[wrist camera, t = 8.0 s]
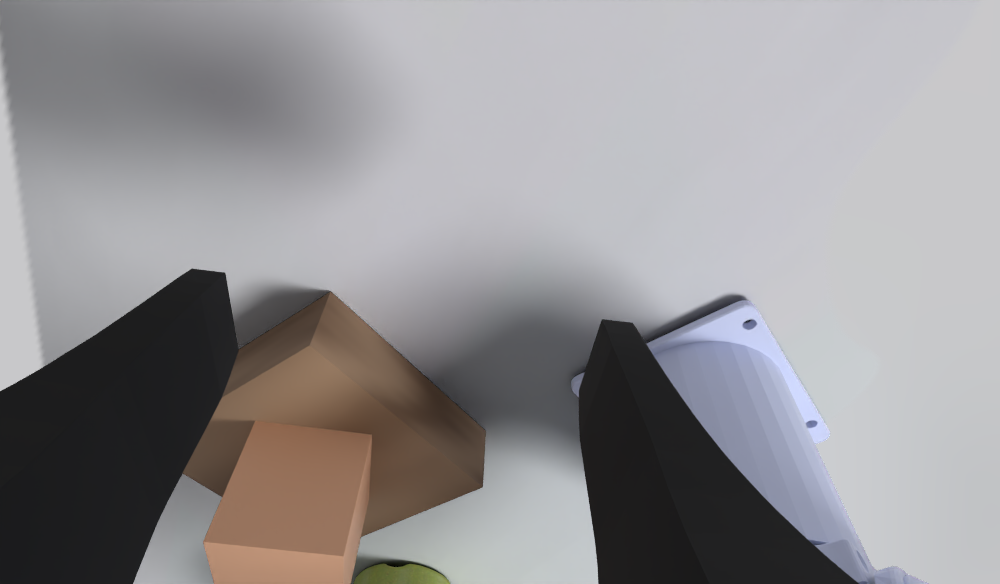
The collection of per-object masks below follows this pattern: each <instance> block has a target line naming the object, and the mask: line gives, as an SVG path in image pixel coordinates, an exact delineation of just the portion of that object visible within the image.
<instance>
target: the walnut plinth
mask: <svg viewBox="0 0 1000 584" xmlns="http://www.w3.org/2000/svg"><path fill="white" fill-rule="evenodd" d="M238 351H239V352H238V355H237V357H236V360H235V363H234V366H233V369H232V372H231V375H230V378H229V380H228V383H227V386H226V388H225V391H224V393H223V396H222V399H221V400H220V402H219V404H218V406H217V408H216V410H215V412H214V414H213V416H212V418H211V420H210V422H209V424H208V426H207V428H206V430H205V432H204V433H203V435H202V437H201V439H200V441H199V443H198V445H197V447H196V449H195V450H194V452H193V454H192V456H191V458H190V460H189V462H188V464H187V466H186V467H185V469H184V471H183V474H185V475H186V476H188V477H190V478H191V479H193V480H195V481H196V482H198V483H200V484H201V485H203V486H205V487H206V488H208V489H210V490H211V491H213V492H215V493H216V494H218V495H220V496H221V497H223V495H224V492H225V490H226V488H227V485H228V483H229V481H230V478H231V476H232V474H233V471H234V469H235V467H236V464H237V462H238V460H239V457H240V455H241V453H242V450H243V448H244V446H245V443H246V441H247V439H248V437H249V434H250V432H251V430H252V427H253V425H254V423H255V421H262V422H271V423H279V424H287V425H296V426H304V427H312V428H321V429H329V430H338V431H346V432H354V433H363V434H371V435H372V446H371V467H370V488H369V501H368V506H367V511H366V515H365V520H364V525H363V529H362V534H361V537H362V536H364V535H367V534H369V533H372V532H374V531H377V530H379V529H382V528H384V527H386V526H389V525H391V524H394V523H396V522H399V521H401V520H404V519H406V518H409V517H411V516H413V515H416V514H418V513H421V512H423V511H426V510H428V509H431V508H433V507H435V506H438V505H440V504H443V503H445V502H448V501H450V500H453V499H455V498H458V497H460V496H462V495H465V494H467V493H470V492H472V491H475V490H477V489H480V488H482V487H483V474H484V455H485V436H486V431H485V430H484V429H483V428H482V427H481V426H480V425H478V424H477V423H476V422H475V421H474V420H473V419H472V418H471V417H470V416H468V415H467V414H466V413H465V412H464V411H463V410H462V409H461V408H460V407H458V406H457V405H456V404H455V403H454V402H453V401H452V400H451V399H450V398H448V397H447V396H446V395H445V394H444V393H443V392H442V391H441V390H440V389H438V388H437V387H436V386H435V385H434V384H433V383H432V382H431V381H430V380H428V379H427V378H426V377H425V376H424V375H423V374H422V373H421V372H420V371H418V370H417V369H416V368H415V367H414V366H413V365H412V364H411V363H410V362H408V361H407V360H406V359H405V358H404V357H403V356H402V355H401V354H400V353H398V352H397V351H396V350H395V349H394V348H393V347H392V346H391V345H390V344H388V343H387V342H386V341H385V340H384V339H383V338H382V337H381V336H380V335H378V334H377V333H376V332H375V331H374V330H373V329H372V328H371V327H370V326H368V325H367V324H366V323H365V322H364V321H363V320H362V319H361V318H360V317H358V316H357V315H356V314H355V313H354V312H353V311H352V310H351V309H350V308H348V307H347V306H346V305H345V304H344V303H343V302H342V301H341V300H339V299H338V298H337V297H336V296H335V295H334V294H333V293H332V292H329V293H328V294H326V295H325V296H323V297H321V298H320V299H318V300H317V301H315V302H313V303H312V304H310V305H309V306H307V307H305V308H304V309H302V310H301V311H299V312H298V313H296V314H294V315H293V316H291V317H290V318H288V319H286V320H285V321H283V322H282V323H280V324H279V325H277V326H275V327H274V328H272V329H271V330H269V331H267V332H266V333H264V334H263V335H261V336H260V337H258V338H256V339H255V340H253V341H252V342H250V343H248V344H247V345H245V346H244V347H242V348H241V349H239V350H238Z"/></svg>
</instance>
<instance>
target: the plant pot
mask: <svg viewBox="0 0 1000 584" xmlns="http://www.w3.org/2000/svg"><path fill="white" fill-rule="evenodd" d="M353 584H450V582H449V581H448V580H447V579H446V578H445V577H444V576H443V575H441V574H440V573H438V572H436V571H434V570H431V569H429V568H426V567H424V566H420V565H414V564H407V565H405V566H402V567H391V566H388V565H386V564H379V565H375V566H372V567H369V568H367V569H365V570H363V571H362V572H361V573H359V574H358V576H357V577H356V579H355V581H354V583H353Z"/></svg>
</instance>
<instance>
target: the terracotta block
mask: <svg viewBox="0 0 1000 584" xmlns="http://www.w3.org/2000/svg"><path fill="white" fill-rule="evenodd" d="M371 446H372V435H371V434H363V433H354V432H346V431H338V430H329V429H321V428H312V427H304V426H296V425H287V424H279V423H271V422H262V421H255V423H254V425H253V427H252V430H251V432H250V434H249V437H248V439H247V441H246V443H245V446H244V448H243V450H242V453H241V455H240V457H239V460H238V462H237V464H236V467H235V469H234V471H233V474H232V476H231V478H230V481H229V483H228V485H227V488H226V490H225V492H224V495H223V497H222V499H221V502H220V504H219V506H218V509H217V511H216V513H215V516H214V518H213V520H212V523H211V525H210V527H209V530H208V532H207V534H206V537H205V539H204V541H203V543H204V547H205V551H206V554H207V558H208V562H209V566H210V569H211V573H212V577H213V581H214V584H351V580H352V575H353V571H354V566H355V562H356V557H357V552H358V548H359V543H360V538H361V534H362V529H363V525H364V520H365V515H366V511H367V506H368V501H369V488H370V467H371Z"/></svg>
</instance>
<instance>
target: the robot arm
mask: <svg viewBox="0 0 1000 584" xmlns="http://www.w3.org/2000/svg"><path fill="white" fill-rule="evenodd" d="M750 319H753V320H752V321H750V322H748V323H744V322H745V321H746V320H750ZM238 352H239V351H238V345H237V339H236V333H235V327H234V322H233V316H232V310H231V304H230V298H229V292H228V286H227V280H226V275H225V273H223V272H215V271H206V270H198V269H191V270H189V271H188V272H186V273H185V274H183V275H182V276H180V277H179V278H177V279H176V280H174V281H173V282H171V283H170V284H169V285H167V286H166V287H164V288H163V289H161V290H160V291H159V292H157V293H156V294H154V295H153V296H152V297H150V298H149V299H147V300H146V301H144V302H143V303H142V304H140V305H139V306H137V307H136V308H134V309H133V310H131V311H130V312H128V313H127V314H126V315H124V316H123V317H121V318H120V319H118V320H117V321H115V322H114V323H112V324H111V325H109V326H108V327H106V328H105V329H103V330H102V331H101V332H99V333H98V334H96V335H94V336H93V337H91V338H90V339H88V340H86V341H85V342H83V343H82V344H80V345H78V346H77V347H75V348H74V349H72V350H70V351H69V352H67V353H65V354H64V355H62V356H61V357H59V358H57V359H56V360H54V361H53V362H51V363H49V364H48V365H46V366H44V367H43V368H41V369H40V370H38V371H36V372H34V373H33V374H31V375H29V376H28V377H26V378H24V379H22V380H20V381H18V382H17V383H15V384H13V385H11V386H10V387H8V388H6V389H4V390H2V391H0V584H133V582H134V580H135V577H136V574H137V572H138V569H139V567H140V564H141V562H142V560H143V557H144V555H145V552H146V550H147V547H148V545H149V542H150V540H151V537H152V535H153V532H154V530H155V527H156V525H157V523H158V520H159V518H160V516H161V514H162V512H163V510H164V508H165V506H166V504H167V502H168V500H169V498H170V496H171V494H172V492H173V490H174V488H175V486H176V484H177V483H178V481H179V479H180V477H181V475H182V473H183V471H184V469H185V467H186V466H187V464H188V462H189V460H190V458H191V456H192V454H193V452H194V450H195V449H196V447H197V445H198V443H199V441H200V439H201V437H202V435H203V433H204V432H205V430H206V428H207V426H208V424H209V422H210V420H211V418H212V416H213V414H214V412H215V410H216V408H217V406H218V404H219V402H220V400H221V399H222V396H223V393H224V391H225V388H226V386H227V383H228V380H229V378H230V375H231V372H232V369H233V366H234V363H235V360H236V357H237V355H238ZM571 388H572V391H573V393H574V394H575V395H576V396H577V397H578V398H579V429H580V442H581V450H582V457H583V464H584V471H585V477H586V484H587V491H588V497H589V504H590V511H591V517H592V524H593V531H594V537H595V545H596V554H597V564H598V582H599V584H928V583H927V582H924V581H922V580H920V579H918V578H916V577H914V576H911V575H908V574H907V573H906V572H905V571H904V570H902V569H901V568H899V567H896V566H893V567H888V568H885V569H882V570H879V571H877V570H876V569H875V568H874V567H873V566H872V565H871V563H870V561H869V559H868V556H867V554H866V552H865V550H864V548H863V546H862V544H861V542H860V539H859V537H858V535H857V534H856V531H855V529H854V526H853V525H852V522H851V520H850V518H849V516H848V514H847V511H846V509H845V507H844V505H843V503H842V501H841V499H840V496H839V495H838V492H837V490H836V488H835V486H834V484H833V481H832V479H831V477H830V475H829V473H828V471H827V469H826V467H825V464H824V462H823V460H822V458H821V456H820V454H819V451H818V449H817V447H816V445H815V444H817V443H820V442H823V441H825V440H826V439H827V438H828V437H829V435H830V431H829V429H828V427H827V425H826V424H825V422H824V420H823V419H822V417H821V415H820V413H819V412H818V410H817V408H816V407H815V405H814V403H813V402H812V400H811V398H810V397H809V395H808V393H807V392H806V390H805V388H804V387H803V385H802V383H801V382H800V380H799V378H798V377H797V375H796V373H795V372H794V370H793V368H792V367H791V365H790V363H789V362H788V360H787V358H786V356H785V355H784V353H783V351H782V350H781V348H780V346H779V345H778V343H777V341H776V340H775V338H774V336H773V335H772V333H771V331H770V330H769V328H768V326H767V325H766V323H765V321H764V320H763V318H762V316H761V315H760V313H759V311H758V310H757V308H756V306H755V305H754V304H753V303H752V302H751V301H748V300H741V301H738V302H735V303H733V304H731V305H729V306H727V307H725V308H722V309H720V310H718V311H716V312H714V313H712V314H709V315H707V316H705V317H703V318H701V319H699V320H696V321H694V322H692V323H690V324H688V325H686V326H683V327H681V328H679V329H677V330H675V331H672V332H670V333H668V334H666V335H664V336H662V337H659V338H657V339H655V340H653V341H651V342H649V343H645V341H644V340H643V338H642V336H641V335H640V333H639V332H638V330H637V329H636V327H635V326H634V324H633V323H628V322H620V321H612V320H604V319H602V321H601V324H600V327H599V330H598V333H597V336H596V339H595V342H594V345H593V348H592V352H591V355H590V358H589V361H588V364H587V367H586V370H585V372H583V373H581V374H579V375H577V376H575V377H574V378H573V379H572V381H571Z"/></svg>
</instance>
